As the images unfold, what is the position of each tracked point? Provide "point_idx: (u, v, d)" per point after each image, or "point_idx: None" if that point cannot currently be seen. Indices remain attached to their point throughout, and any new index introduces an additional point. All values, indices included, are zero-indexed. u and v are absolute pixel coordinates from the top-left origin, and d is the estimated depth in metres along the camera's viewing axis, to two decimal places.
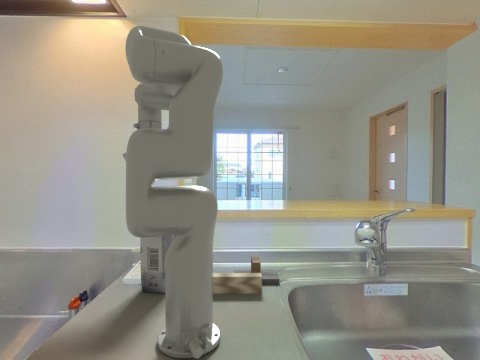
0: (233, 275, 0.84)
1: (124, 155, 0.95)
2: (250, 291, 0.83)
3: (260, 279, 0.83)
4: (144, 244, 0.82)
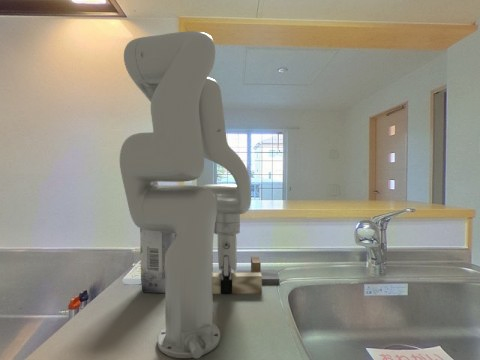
0: (233, 275, 0.84)
1: (228, 274, 0.79)
2: (250, 291, 0.83)
3: (260, 279, 0.83)
4: (144, 244, 0.82)
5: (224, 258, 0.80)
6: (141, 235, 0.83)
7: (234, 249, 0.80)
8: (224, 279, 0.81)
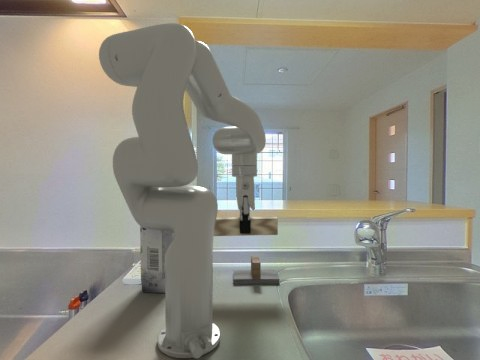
0: (250, 218, 0.89)
1: (247, 213, 0.84)
2: (267, 232, 0.89)
3: (276, 221, 0.89)
4: (144, 244, 0.82)
5: (243, 198, 0.85)
6: (141, 235, 0.83)
7: (253, 190, 0.85)
8: (243, 219, 0.86)
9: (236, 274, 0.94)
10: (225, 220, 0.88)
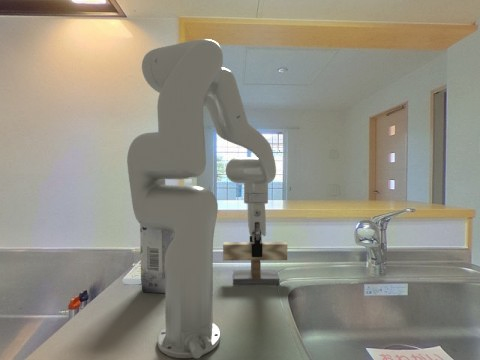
0: None
1: (259, 233, 0.85)
2: (277, 257, 0.92)
3: (286, 246, 0.92)
4: (144, 244, 0.82)
5: (255, 222, 0.88)
6: (141, 235, 0.83)
7: (264, 216, 0.89)
8: (255, 243, 0.87)
9: (236, 274, 0.94)
10: (237, 245, 0.92)
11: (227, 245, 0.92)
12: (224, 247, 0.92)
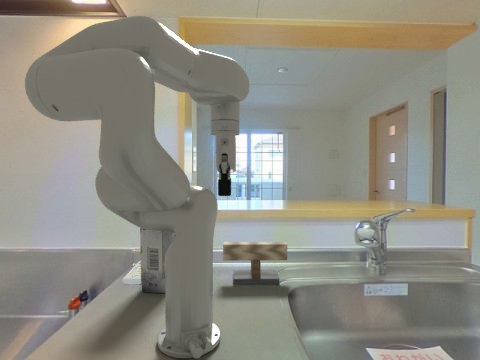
0: (261, 243, 0.93)
1: (226, 164, 0.70)
2: (277, 257, 0.92)
3: (286, 246, 0.92)
4: (144, 244, 0.82)
5: (222, 154, 0.73)
6: (141, 235, 0.83)
7: (233, 147, 0.73)
8: (222, 177, 0.72)
9: (236, 274, 0.94)
10: (237, 245, 0.92)
11: (227, 245, 0.92)
12: (224, 247, 0.92)
